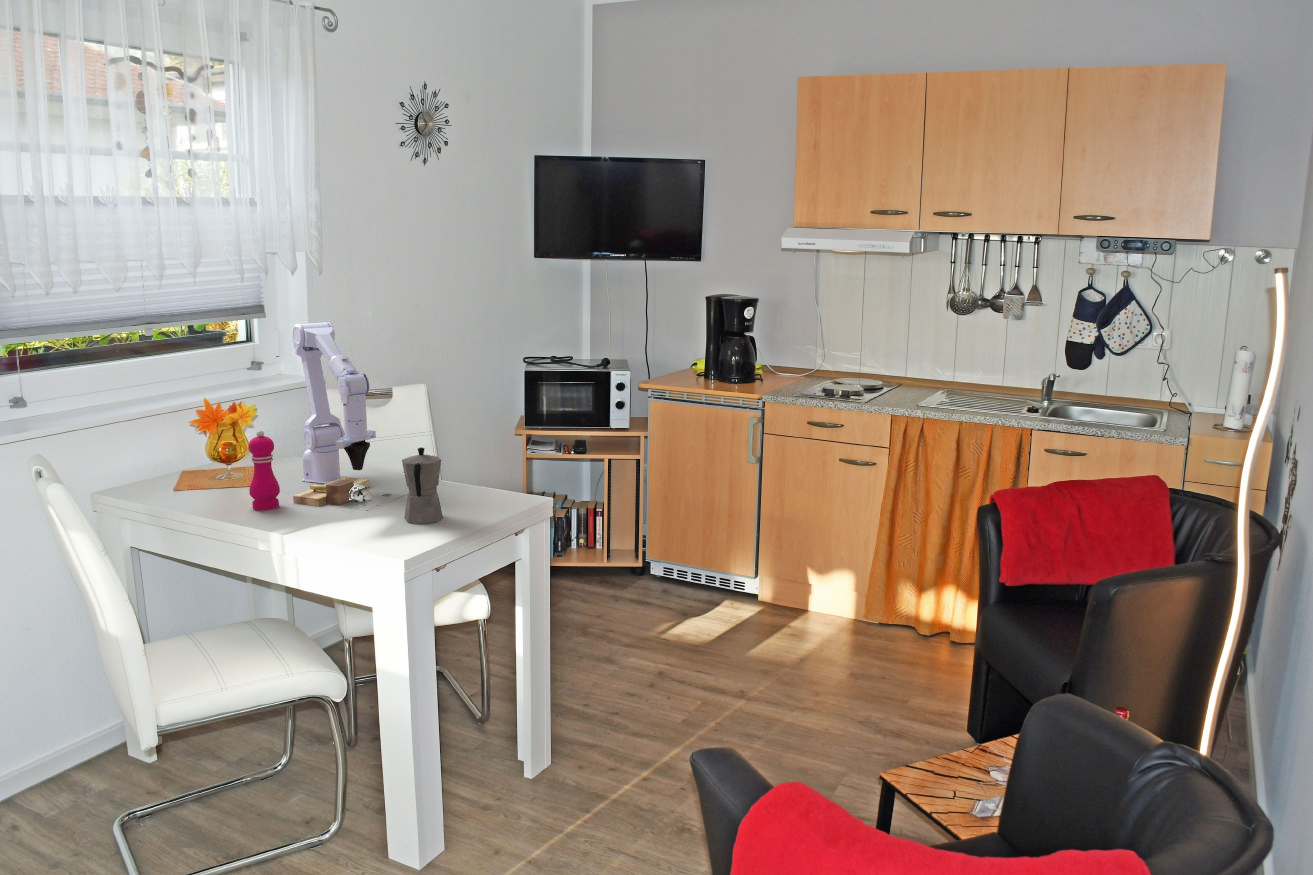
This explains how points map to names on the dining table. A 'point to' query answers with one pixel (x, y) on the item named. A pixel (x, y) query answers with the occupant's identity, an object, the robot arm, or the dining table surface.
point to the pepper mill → (263, 474)
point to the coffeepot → (422, 488)
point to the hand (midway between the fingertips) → (357, 469)
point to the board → (321, 493)
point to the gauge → (336, 491)
